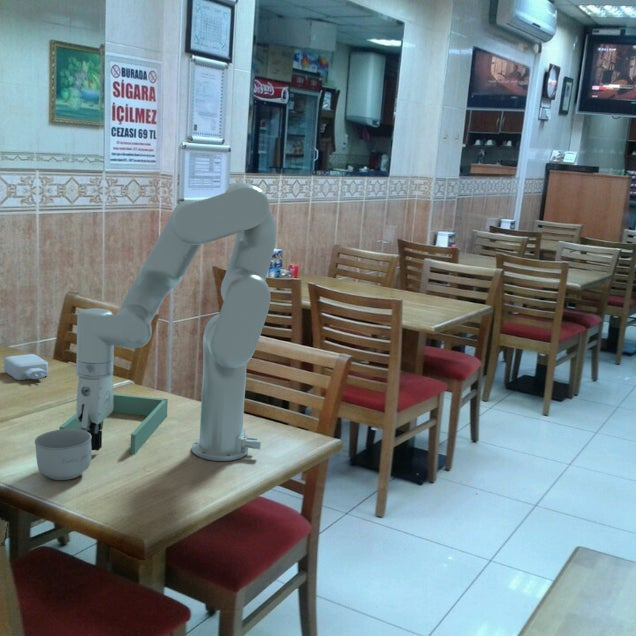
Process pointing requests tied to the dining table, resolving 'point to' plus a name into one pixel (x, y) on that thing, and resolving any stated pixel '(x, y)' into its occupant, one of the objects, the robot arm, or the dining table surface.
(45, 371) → the charger
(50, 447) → the teacup
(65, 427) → the green u-shaped border
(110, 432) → the dining table surface
